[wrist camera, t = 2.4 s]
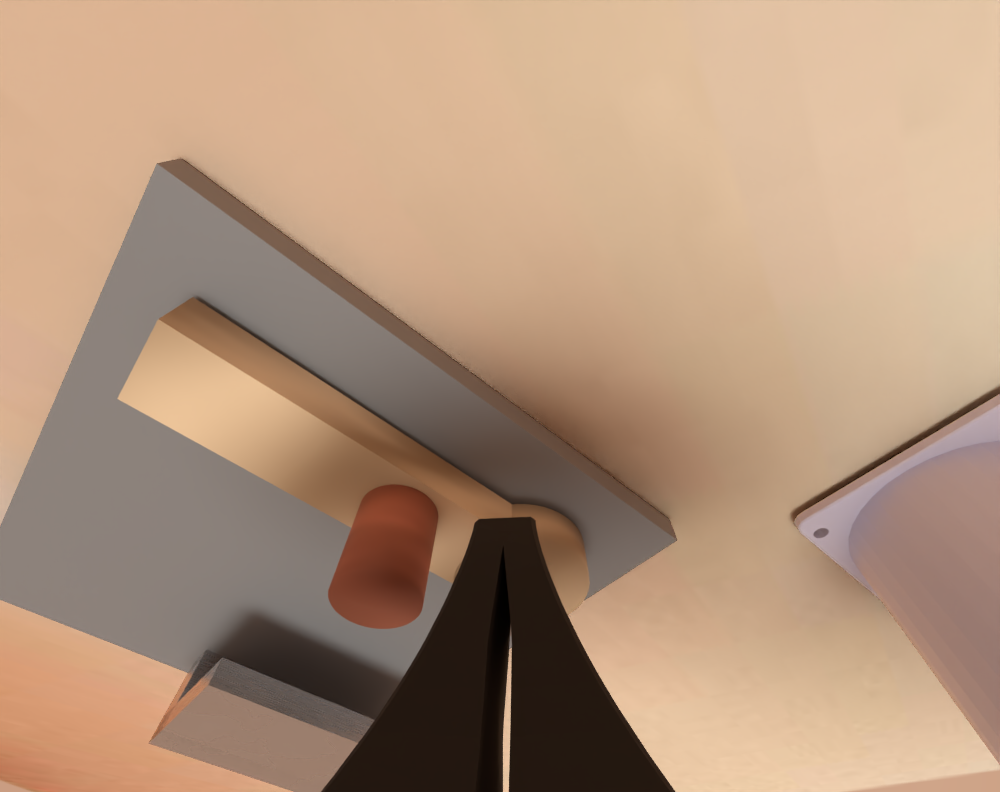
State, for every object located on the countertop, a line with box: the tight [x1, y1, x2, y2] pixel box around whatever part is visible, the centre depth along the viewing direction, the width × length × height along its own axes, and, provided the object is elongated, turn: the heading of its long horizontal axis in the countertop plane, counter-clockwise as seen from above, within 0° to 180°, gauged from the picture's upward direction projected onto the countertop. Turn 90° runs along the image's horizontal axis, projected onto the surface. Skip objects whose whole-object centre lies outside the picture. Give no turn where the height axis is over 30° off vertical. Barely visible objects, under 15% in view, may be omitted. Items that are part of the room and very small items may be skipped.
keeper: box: [149, 649, 375, 792], centre depth 22 cm, size 10×6×4 cm, turn 49°
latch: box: [117, 297, 590, 636], centre depth 14 cm, size 15×5×4 cm, turn 49°
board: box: [0, 159, 677, 719], centre depth 18 cm, size 19×21×4 cm
